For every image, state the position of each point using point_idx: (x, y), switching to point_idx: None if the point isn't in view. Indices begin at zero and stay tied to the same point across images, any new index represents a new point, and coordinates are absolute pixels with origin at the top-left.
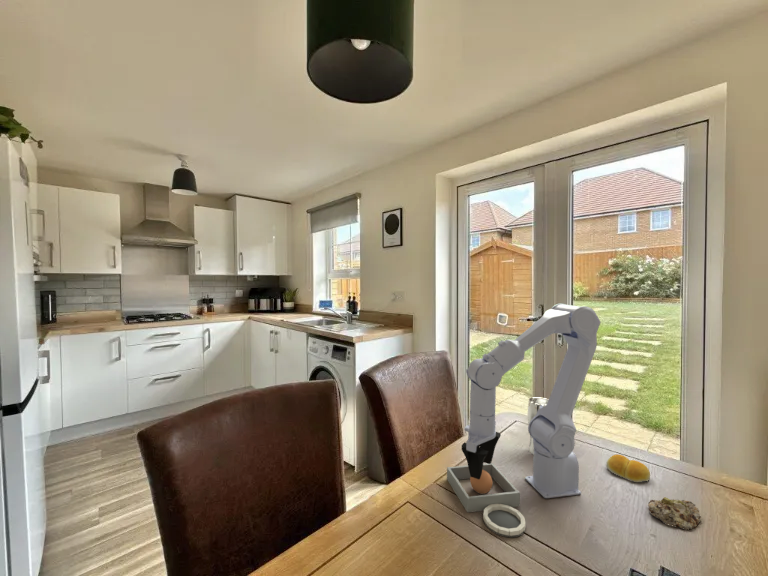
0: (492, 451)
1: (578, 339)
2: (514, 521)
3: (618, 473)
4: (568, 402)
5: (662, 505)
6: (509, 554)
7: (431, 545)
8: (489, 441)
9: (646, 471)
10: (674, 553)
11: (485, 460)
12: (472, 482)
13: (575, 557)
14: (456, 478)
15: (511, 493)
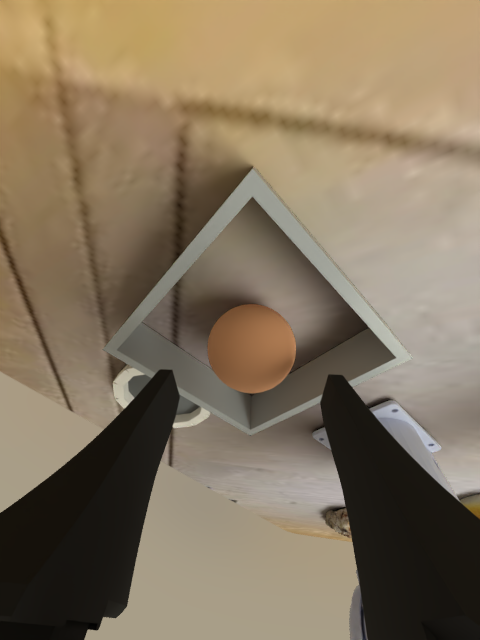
0: (340, 481)
1: None
2: (181, 406)
3: (465, 506)
4: None
5: (347, 535)
6: (97, 406)
7: None
8: (369, 556)
9: None
10: (268, 508)
11: (328, 397)
12: (213, 330)
13: (177, 458)
14: (181, 272)
15: (231, 424)
